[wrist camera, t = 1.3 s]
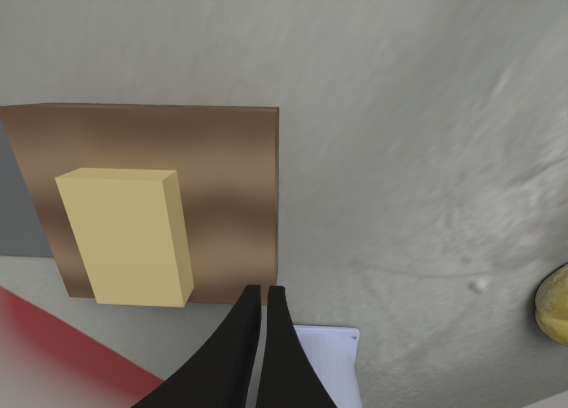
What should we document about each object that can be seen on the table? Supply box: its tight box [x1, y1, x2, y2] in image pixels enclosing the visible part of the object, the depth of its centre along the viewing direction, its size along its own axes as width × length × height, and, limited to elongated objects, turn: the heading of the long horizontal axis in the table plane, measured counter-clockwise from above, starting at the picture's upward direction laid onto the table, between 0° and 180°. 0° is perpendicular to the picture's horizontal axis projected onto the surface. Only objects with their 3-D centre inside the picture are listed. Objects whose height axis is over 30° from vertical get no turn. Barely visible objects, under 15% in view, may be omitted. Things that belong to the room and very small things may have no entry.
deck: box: [0, 103, 279, 306], centre depth 20 cm, size 14×16×4 cm
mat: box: [0, 119, 54, 257], centre depth 22 cm, size 12×9×1 cm
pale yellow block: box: [55, 168, 194, 307], centre depth 17 cm, size 9×6×2 cm, turn 179°
